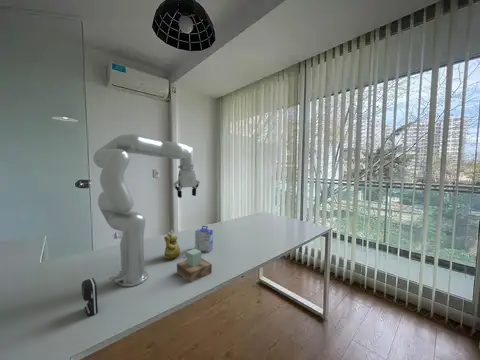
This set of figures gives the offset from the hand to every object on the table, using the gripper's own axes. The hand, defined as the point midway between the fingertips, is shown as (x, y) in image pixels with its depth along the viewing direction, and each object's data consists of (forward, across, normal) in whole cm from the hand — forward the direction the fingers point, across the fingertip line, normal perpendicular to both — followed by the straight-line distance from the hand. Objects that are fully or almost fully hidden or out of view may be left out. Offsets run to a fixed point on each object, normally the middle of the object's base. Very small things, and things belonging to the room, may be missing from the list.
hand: (187, 196), depth 128 cm
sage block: (+29, -12, -24) cm, 39 cm away
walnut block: (+34, -12, -25) cm, 43 cm away
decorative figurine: (+34, -11, -2) cm, 35 cm away
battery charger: (+34, -54, -21) cm, 67 cm away
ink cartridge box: (+34, +8, -6) cm, 35 cm away
